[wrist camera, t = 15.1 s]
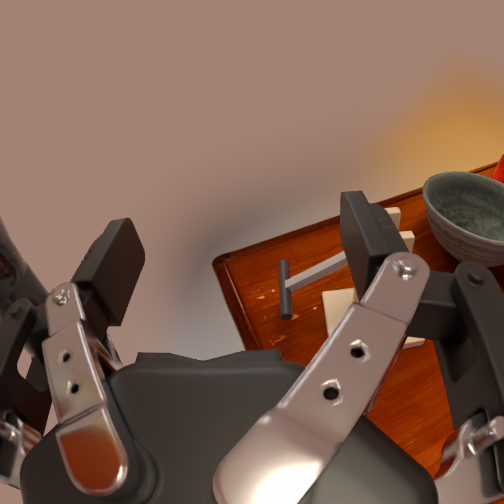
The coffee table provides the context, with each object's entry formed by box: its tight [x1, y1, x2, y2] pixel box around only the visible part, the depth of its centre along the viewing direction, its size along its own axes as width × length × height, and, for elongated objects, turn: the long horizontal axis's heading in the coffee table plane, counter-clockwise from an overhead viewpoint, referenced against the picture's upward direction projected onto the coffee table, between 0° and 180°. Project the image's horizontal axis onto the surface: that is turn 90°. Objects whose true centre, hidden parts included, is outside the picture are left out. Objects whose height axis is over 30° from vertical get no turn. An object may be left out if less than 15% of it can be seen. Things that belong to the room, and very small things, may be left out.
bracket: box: [322, 207, 425, 349], centre depth 33 cm, size 12×10×16 cm
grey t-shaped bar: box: [278, 251, 348, 320], centre depth 32 cm, size 14×8×2 cm, turn 88°
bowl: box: [422, 172, 504, 267], centre depth 40 cm, size 21×21×10 cm
